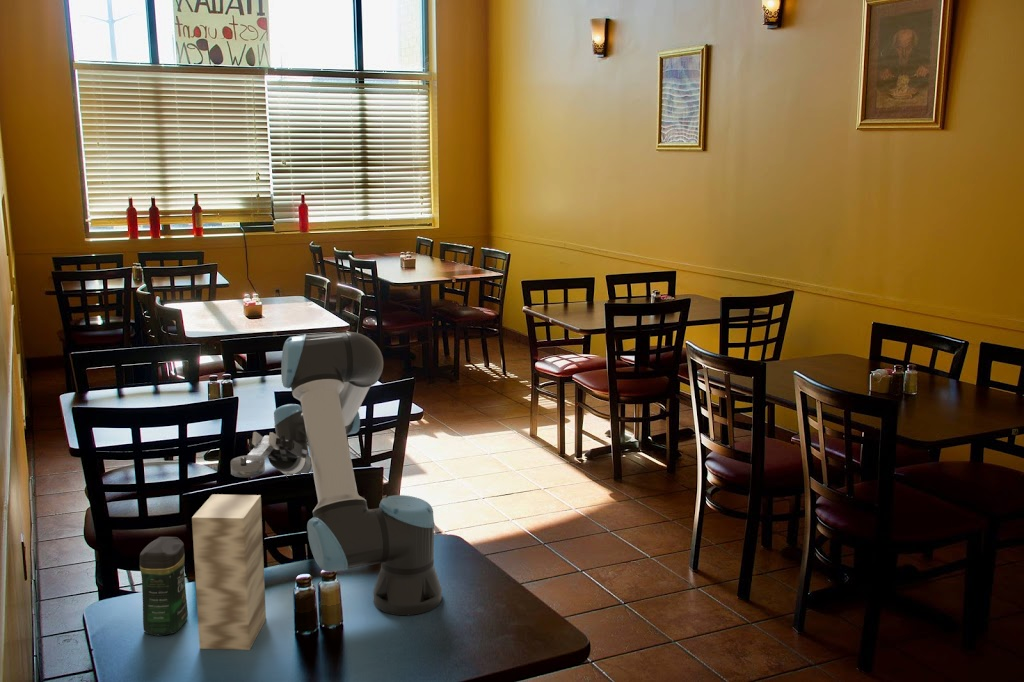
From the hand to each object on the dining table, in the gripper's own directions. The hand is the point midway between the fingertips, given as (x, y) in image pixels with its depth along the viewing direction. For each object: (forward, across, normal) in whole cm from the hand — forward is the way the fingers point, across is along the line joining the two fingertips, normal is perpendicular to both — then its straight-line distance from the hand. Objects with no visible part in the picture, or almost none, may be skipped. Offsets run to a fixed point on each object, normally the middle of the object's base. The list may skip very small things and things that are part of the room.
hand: (262, 437), depth 206 cm
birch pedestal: (+6, 0, -42) cm, 43 cm away
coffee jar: (+3, +15, -41) cm, 44 cm away
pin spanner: (+2, 0, -5) cm, 5 cm away
